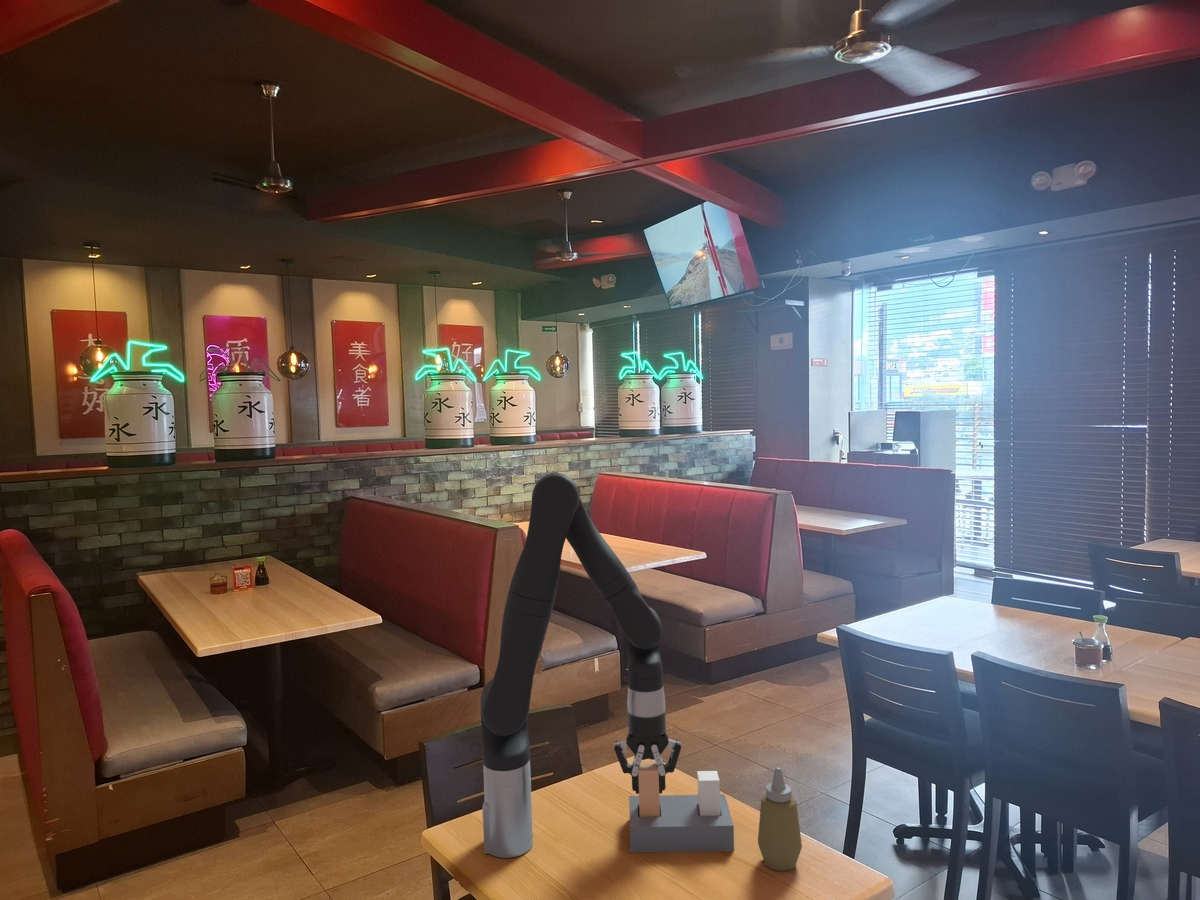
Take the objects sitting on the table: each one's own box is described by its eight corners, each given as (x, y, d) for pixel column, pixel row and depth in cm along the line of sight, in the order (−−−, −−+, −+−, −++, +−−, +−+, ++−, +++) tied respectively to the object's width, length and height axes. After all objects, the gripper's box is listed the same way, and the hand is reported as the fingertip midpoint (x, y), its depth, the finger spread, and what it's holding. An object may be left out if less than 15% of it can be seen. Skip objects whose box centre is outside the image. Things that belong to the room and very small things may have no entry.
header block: (630, 852, 147) (629, 827, 147) (629, 819, 159) (629, 796, 159) (734, 850, 146) (733, 825, 146) (725, 817, 158) (724, 794, 158)
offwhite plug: (700, 837, 151) (699, 780, 150) (698, 826, 155) (697, 771, 154) (720, 836, 151) (719, 780, 150) (718, 825, 155) (717, 770, 154)
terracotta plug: (640, 827, 151) (638, 770, 150) (639, 816, 155) (637, 761, 154) (660, 826, 151) (658, 770, 150) (659, 816, 155) (657, 761, 154)
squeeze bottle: (777, 880, 137) (775, 783, 136) (749, 858, 144) (747, 765, 143) (811, 867, 141) (809, 772, 140) (782, 845, 148) (780, 755, 147)
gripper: (610, 716, 148) (613, 802, 149) (683, 714, 148) (686, 800, 149) (611, 701, 156) (613, 783, 156) (680, 700, 155) (682, 782, 156)
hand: (648, 791), depth 152 cm, fingers closed on terracotta plug, 4 cm apart
